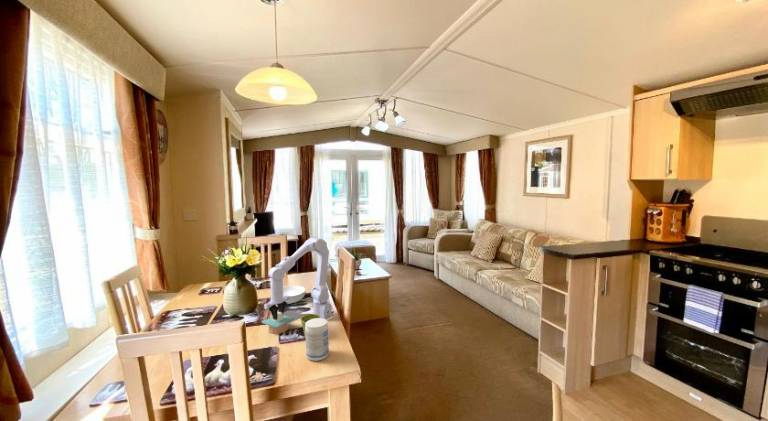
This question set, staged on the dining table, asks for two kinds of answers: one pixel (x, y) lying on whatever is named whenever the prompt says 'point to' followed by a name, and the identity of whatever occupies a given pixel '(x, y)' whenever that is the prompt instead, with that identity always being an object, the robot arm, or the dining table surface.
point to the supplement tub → (316, 339)
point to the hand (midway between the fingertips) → (278, 317)
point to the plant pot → (307, 318)
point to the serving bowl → (293, 293)
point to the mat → (293, 315)
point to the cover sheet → (277, 324)
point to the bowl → (278, 329)
